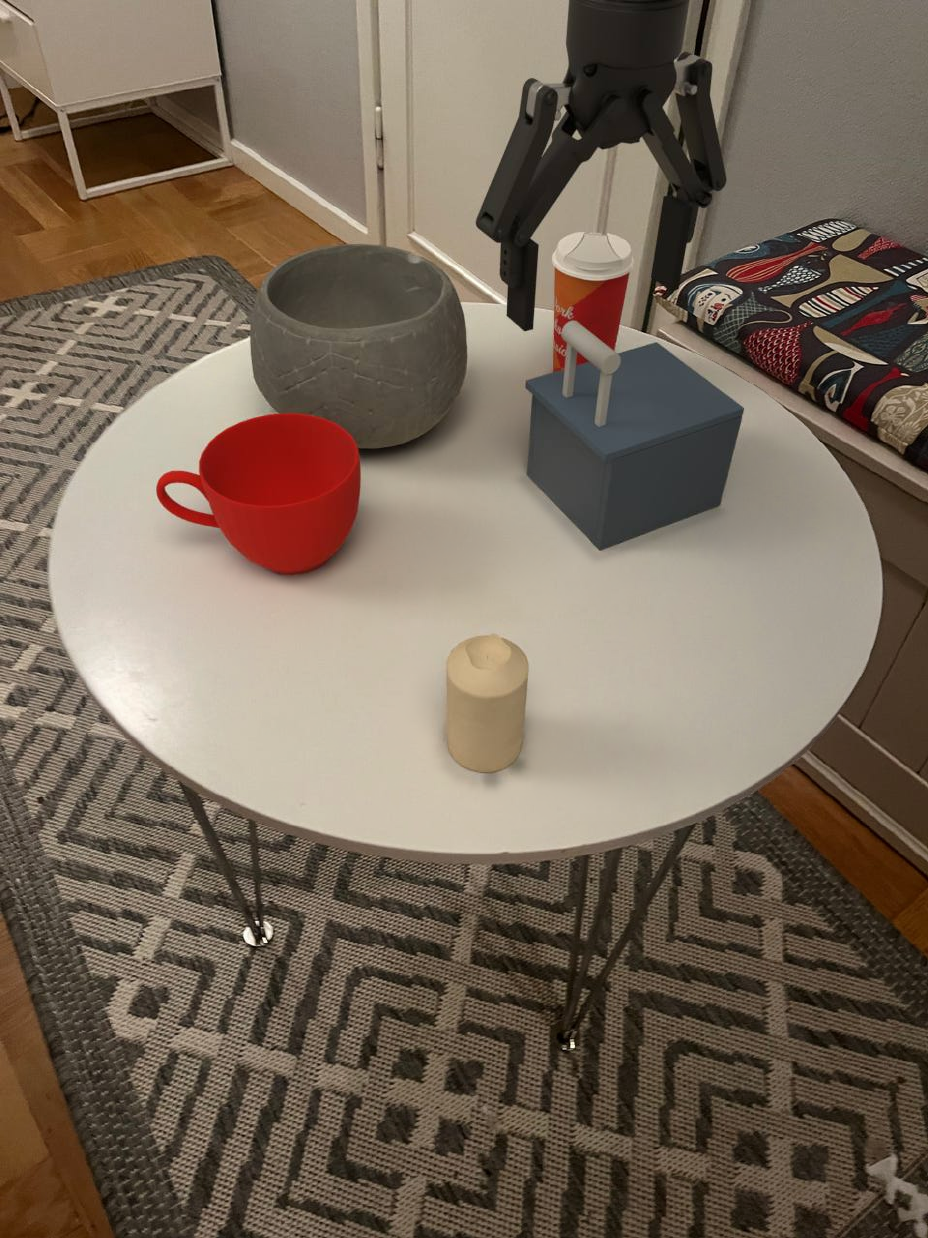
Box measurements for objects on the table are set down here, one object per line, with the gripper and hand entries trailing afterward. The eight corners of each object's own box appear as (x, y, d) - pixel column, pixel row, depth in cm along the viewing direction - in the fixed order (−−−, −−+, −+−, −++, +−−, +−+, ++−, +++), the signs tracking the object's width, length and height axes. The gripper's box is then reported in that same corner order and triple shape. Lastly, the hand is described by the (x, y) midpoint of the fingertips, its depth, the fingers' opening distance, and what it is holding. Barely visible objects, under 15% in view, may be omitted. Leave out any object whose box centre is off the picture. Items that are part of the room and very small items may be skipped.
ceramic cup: (183, 509, 88) (159, 417, 81) (366, 500, 89) (358, 408, 82) (165, 608, 79) (136, 514, 72) (369, 596, 80) (360, 502, 73)
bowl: (220, 435, 97) (191, 296, 86) (349, 348, 109) (338, 216, 98) (387, 510, 88) (378, 366, 78) (506, 406, 101) (512, 269, 90)
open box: (599, 550, 85) (612, 460, 78) (526, 474, 92) (532, 386, 85) (720, 505, 89) (742, 416, 82) (640, 436, 97) (655, 349, 90)
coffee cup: (545, 358, 108) (555, 226, 97) (619, 363, 107) (637, 231, 96) (539, 398, 102) (549, 262, 91) (617, 405, 101) (636, 268, 90)
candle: (435, 759, 69) (433, 667, 62) (463, 704, 72) (464, 611, 65) (507, 783, 67) (513, 692, 60) (532, 726, 71) (541, 633, 64)
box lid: (604, 462, 77) (616, 380, 72) (524, 388, 85) (529, 308, 80) (742, 415, 82) (763, 335, 77) (655, 349, 90) (668, 271, 85)
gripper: (747, -50, 66) (691, 250, 81) (424, -8, 57) (430, 317, 73) (823, -26, 61) (749, 287, 76) (485, 24, 53) (478, 364, 68)
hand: (594, 302), depth 75 cm, fingers open, 13 cm apart
